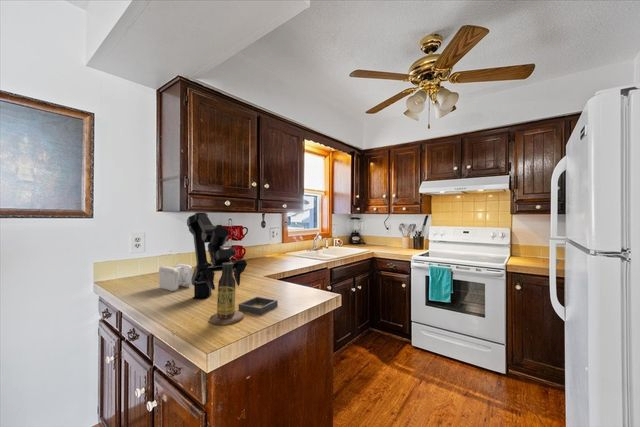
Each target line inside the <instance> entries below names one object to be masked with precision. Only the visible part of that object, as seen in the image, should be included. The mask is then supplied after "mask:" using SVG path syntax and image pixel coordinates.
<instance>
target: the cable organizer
mask: <svg viewBox="0 0 640 427" xmlns="http://www.w3.org/2000/svg"><path fill="white" fill-rule="evenodd" d="M192 276H193V267H192V266H191V265H190V264H186V263H185V264H184V263H175V264H174V267H171V266H167V265H165V266H164V265H163V266H159V268H158V285H159V287H160V288H161V289H162V290H168V291H170V292H175V291H178V289H179V286H183V287H184V288H189V287H192V286H193V285H192V282H191V279H192Z"/></svg>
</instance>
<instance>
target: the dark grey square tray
mask: <svg viewBox="0 0 640 427" xmlns="http://www.w3.org/2000/svg"><path fill="white" fill-rule="evenodd" d="M257 304H260V305H263V306H261V307H259V306H254V305H257ZM278 306H279V305H278V299H273V298H267V297H262V296H254V297H253V298H250V299H248V300H245V301H243V302H240V303H239V304H238V311H239V312H243V313H244V312H245V313H249V314H255V315H259V316H261V315H263V313H264V314H265V313H268V312H269V311H271V310H273V309H275V308H277V307H278Z"/></svg>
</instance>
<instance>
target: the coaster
mask: <svg viewBox="0 0 640 427" xmlns="http://www.w3.org/2000/svg"><path fill="white" fill-rule="evenodd" d="M244 315H245V314H244V312H243V311H239V310H235V312H234V316H233V317H231V318H227V319H220V318H218V317H217V312H216V313H214V314H212V315H211V316H210V317H209V323H210V324H211V325H214V326H229V325H233V324H237V323H239V322H241V321H242V320H243V319H244V318H245V316H244Z"/></svg>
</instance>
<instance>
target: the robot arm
mask: <svg viewBox="0 0 640 427" xmlns="http://www.w3.org/2000/svg"><path fill="white" fill-rule="evenodd" d="M186 226H187V228H188V231H189V232H190V233H191V235H192V236H193V244H194V245H193V246H194V252H195V261H196V265H195V267H194V269H193V272H192V279H191V282H192V286H193V287H194V288H193V289H194V296H193V297H192V299H193V300H196V299H197V300H200V299H203V300H204V299H208V298H210V296H212V295H213V294H212V290H213V291H215V289H216V286H215V282H214V280H215V272H222V263H225V262H231V258H232V257H235V256H236V255H237V252H236V251H237V250H236V249H235V247H229V248H225V247H224V246H225V245H226V242H227V240H228V238H229V234H230V231H229V229H228V228H227V227H224V226H223V225H222V224H216V225H214V224H213V223H212V221H211V220H210V218H209V217H208V213H207V212H205V211H204V212H203V211H202V212H201V211H200V212H194V214H193V215H190V216H188V218H187V219H186ZM207 243H208V244H207ZM206 244H207V251H206ZM207 252H208V254H209V258H210V262H209V261H208V258H207V257H208V256H207ZM247 266H248V263H247V260H246V259H244V258H243V259H235V261H234V262H233V277H234V279H235V284H236V285H237V286H238V287H239V286H240V284H241V274H242V273H243V272H244V271H245V269H246V267H247Z"/></svg>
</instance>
